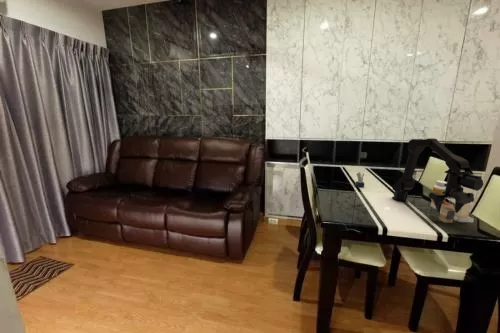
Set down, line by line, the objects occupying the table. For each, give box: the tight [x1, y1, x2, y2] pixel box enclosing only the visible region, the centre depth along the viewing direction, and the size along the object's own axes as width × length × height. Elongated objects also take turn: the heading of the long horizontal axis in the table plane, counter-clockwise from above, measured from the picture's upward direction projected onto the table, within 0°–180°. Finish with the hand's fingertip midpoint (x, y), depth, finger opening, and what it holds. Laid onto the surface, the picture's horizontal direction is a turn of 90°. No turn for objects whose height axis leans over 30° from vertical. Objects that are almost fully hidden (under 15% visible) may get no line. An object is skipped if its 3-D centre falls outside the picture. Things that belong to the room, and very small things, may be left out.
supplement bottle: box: [430, 180, 447, 202], centre depth 149 cm, size 7×7×13 cm
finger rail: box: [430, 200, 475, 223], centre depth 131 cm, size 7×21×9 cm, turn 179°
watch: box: [354, 171, 365, 189], centre depth 174 cm, size 6×8×11 cm
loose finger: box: [438, 207, 455, 224], centre depth 122 cm, size 4×5×7 cm
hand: (447, 212), depth 122 cm, fingers open, 9 cm apart
